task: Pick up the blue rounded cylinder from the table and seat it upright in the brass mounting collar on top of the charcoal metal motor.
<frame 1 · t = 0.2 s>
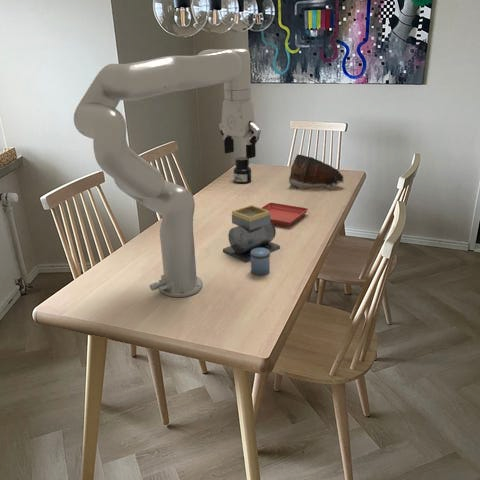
hand: (239, 155, 141), 36 cm above the table, tool pointing down, fingers open, 9 cm apart
ink bottle: (242, 182, 242), on the table
plant saucer: (279, 219, 193), on the table
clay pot: (316, 187, 230), on the table
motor: (251, 249, 165), on the table
blue rounded cylinder: (260, 271, 150), on the table
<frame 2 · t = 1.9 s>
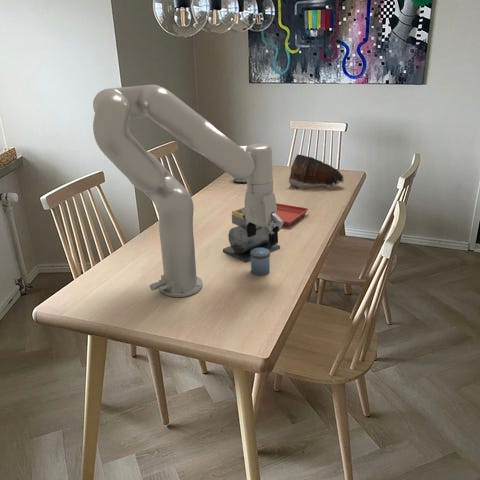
hand: (262, 240, 146), 11 cm above the table, tool pointing down, fingers open, 9 cm apart
nothing on the table moved.
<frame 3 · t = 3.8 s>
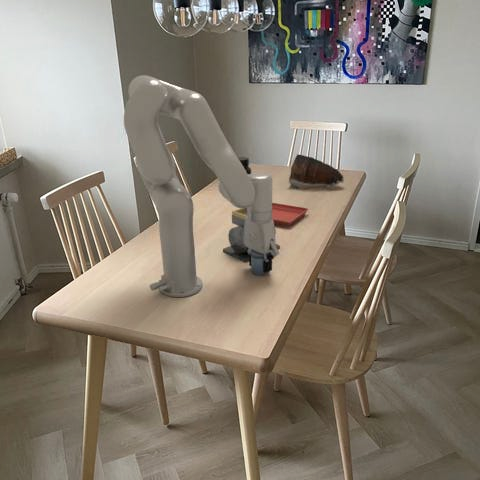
hand: (260, 267, 149), 1 cm above the table, tool pointing down, fingers closed on blue rounded cylinder, 5 cm apart
blue rounded cylinder: (260, 271, 150), on the table, touching gripper
everything else where it was.
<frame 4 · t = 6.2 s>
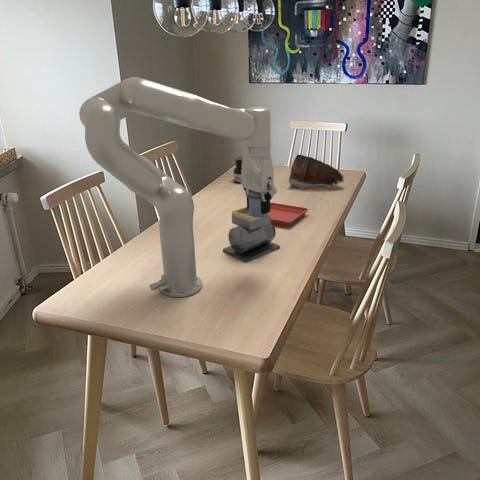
hand: (258, 209, 144), 20 cm above the table, tool pointing down, fingers closed on blue rounded cylinder, 5 cm apart
blue rounded cylinder: (258, 214, 144), point 18 cm above the table, touching gripper
everything else where it was.
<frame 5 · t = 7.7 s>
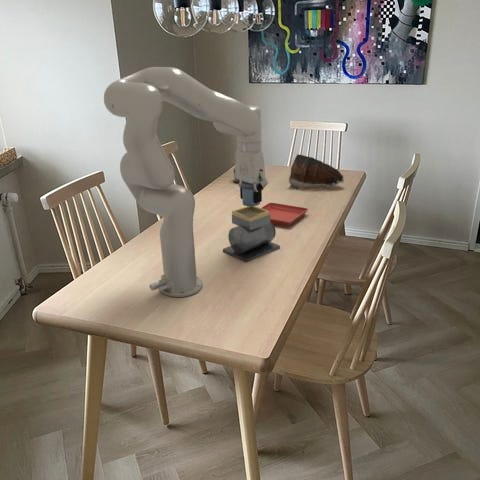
hand: (251, 199, 158), 18 cm above the table, tool pointing down, fingers closed on blue rounded cylinder, 5 cm apart
blue rounded cylinder: (251, 203, 158), point 17 cm above the table, touching gripper
everything else where it was.
when the fingers open (15 cm above the table, at t = 9.1 s): blue rounded cylinder stays where it is, resting on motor.
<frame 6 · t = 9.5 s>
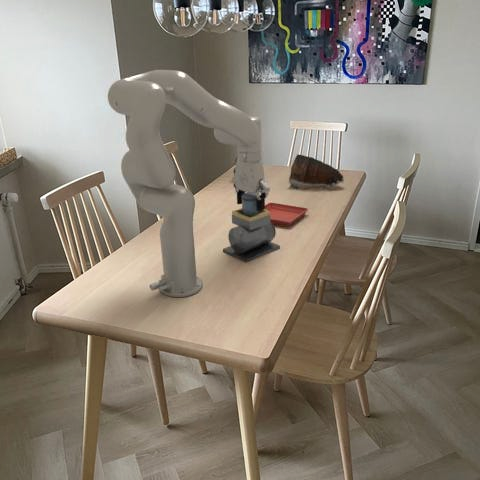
hand: (250, 206, 158), 16 cm above the table, tool pointing down, fingers open, 9 cm apart
blue rounded cylinder: (250, 214, 160), point 13 cm above the table, touching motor
everything else where it was.
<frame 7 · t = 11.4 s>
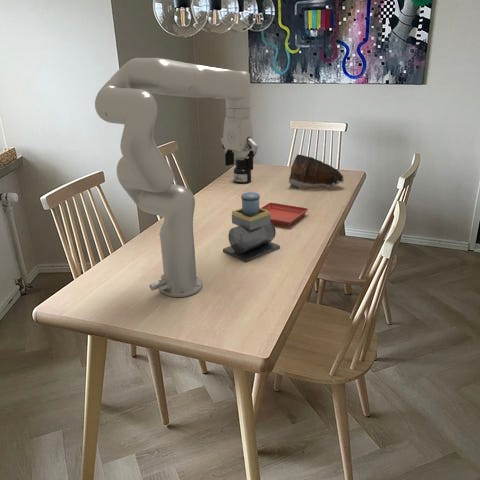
hand: (239, 167, 153), 29 cm above the table, tool pointing down, fingers open, 9 cm apart
nothing on the table moved.
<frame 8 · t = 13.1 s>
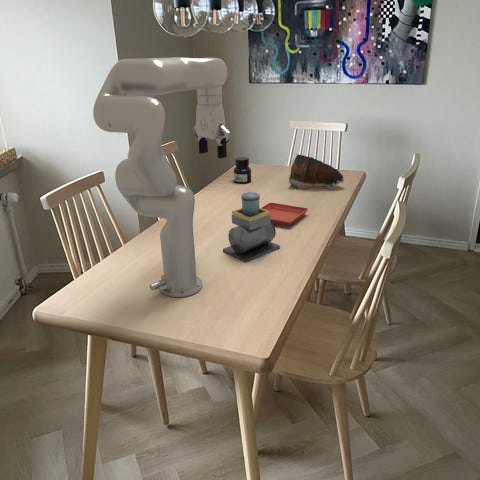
hand: (212, 155, 153), 33 cm above the table, tool pointing down, fingers open, 9 cm apart
nothing on the table moved.
at the end: blue rounded cylinder 0.0 cm off-centre on the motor, point 13.0 cm above the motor's base; blue rounded cylinder tilted 0°; the gripper is holding nothing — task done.
